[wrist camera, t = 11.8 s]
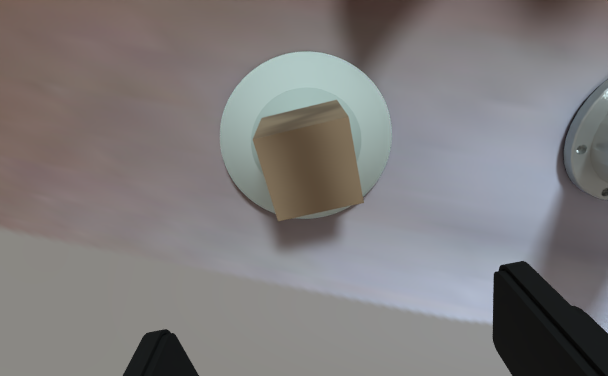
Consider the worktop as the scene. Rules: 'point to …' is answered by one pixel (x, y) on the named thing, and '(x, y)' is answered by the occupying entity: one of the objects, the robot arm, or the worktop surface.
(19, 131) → the worktop surface
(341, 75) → the dish
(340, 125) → the walnut block
